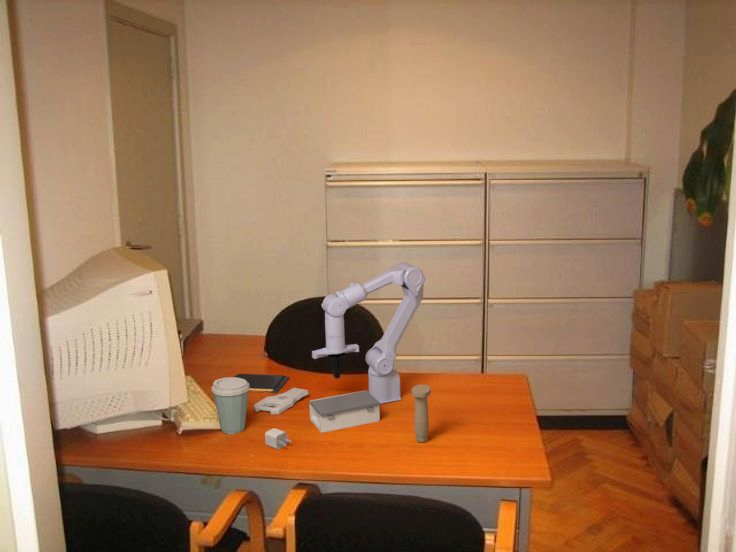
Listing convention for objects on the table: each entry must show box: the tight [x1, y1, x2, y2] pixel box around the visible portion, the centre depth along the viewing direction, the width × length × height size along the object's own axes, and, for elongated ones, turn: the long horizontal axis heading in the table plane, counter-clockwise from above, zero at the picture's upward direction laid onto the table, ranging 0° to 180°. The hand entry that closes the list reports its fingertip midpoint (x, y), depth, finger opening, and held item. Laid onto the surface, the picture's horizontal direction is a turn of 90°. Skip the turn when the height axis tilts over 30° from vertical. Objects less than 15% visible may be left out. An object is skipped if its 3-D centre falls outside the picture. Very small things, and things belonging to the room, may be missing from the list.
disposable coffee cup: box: [211, 376, 250, 435], centre depth 204 cm, size 11×11×15 cm
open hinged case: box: [308, 403, 381, 434], centre depth 209 cm, size 18×11×5 cm, turn 113°
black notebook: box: [233, 373, 291, 394], centre depth 241 cm, size 20×2×15 cm
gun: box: [253, 386, 309, 415], centre depth 223 cm, size 18×3×10 cm
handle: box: [411, 384, 432, 444], centre depth 194 cm, size 5×6×15 cm
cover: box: [308, 389, 381, 416], centre depth 208 cm, size 18×10×1 cm, turn 113°
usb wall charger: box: [264, 427, 292, 450], centre depth 194 cm, size 4×7×4 cm, turn 51°
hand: (336, 377), depth 218 cm, fingers closed
